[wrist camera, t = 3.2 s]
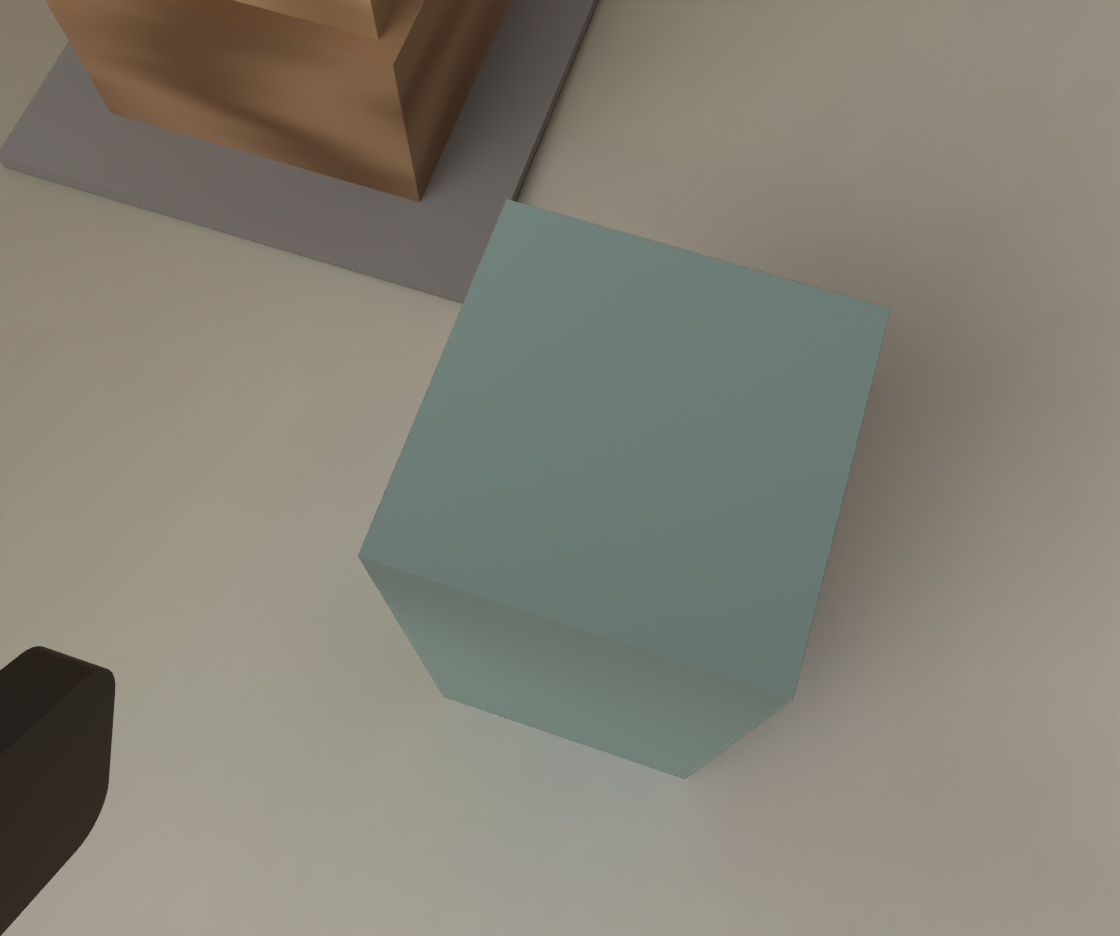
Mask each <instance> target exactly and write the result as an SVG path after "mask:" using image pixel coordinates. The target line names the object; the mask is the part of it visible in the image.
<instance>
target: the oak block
mask: <svg viewBox="0 0 1120 936" xmlns="http://www.w3.org/2000/svg"><path fill="white" fill-rule="evenodd" d="M234 1H237V2H241V3H245V4H248V5H252V6H256V7H260V8H263V9H267V10H271V11H274V12H278V13H282V14H285V15H289V16H293V17H296V18H300V19H304V20H307V21H311V22H315V23H318V24H322V25H326V26H329V27H333V28H337V29H340V30H344V31H348V32H351V33H355V34H359V35H362V36H366V37H370V38H373V39H377V40H379V38H380V36H381V34H382V32H383V30H384V28H385V26H386V24H387V22H388V20H389V18H390V16H391V14H392V12H393V10H394V8H395V6H396V4H397V2H398V0H234Z"/></svg>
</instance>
